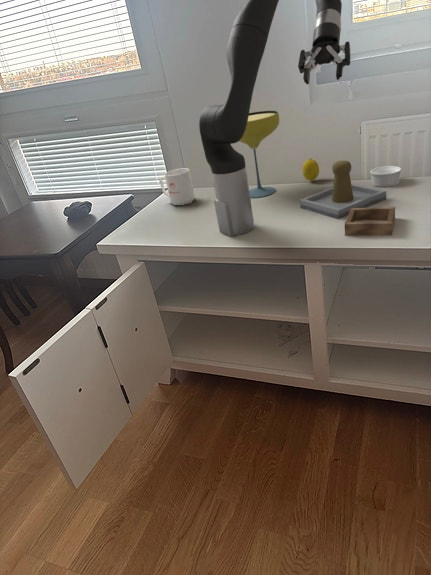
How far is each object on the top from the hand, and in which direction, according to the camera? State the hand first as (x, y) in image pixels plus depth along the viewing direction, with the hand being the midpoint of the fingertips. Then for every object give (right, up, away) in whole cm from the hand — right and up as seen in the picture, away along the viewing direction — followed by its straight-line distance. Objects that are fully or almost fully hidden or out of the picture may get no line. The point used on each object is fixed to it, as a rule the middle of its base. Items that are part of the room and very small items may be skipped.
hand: (322, 80), depth 121 cm
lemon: (+3, -22, +29) cm, 36 cm away
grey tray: (+7, -34, +5) cm, 35 cm away
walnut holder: (+9, -43, -13) cm, 46 cm away
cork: (+7, -33, +4) cm, 34 cm away
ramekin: (+23, -26, +14) cm, 37 cm away
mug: (-43, -28, +35) cm, 62 cm away
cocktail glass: (-15, -26, +28) cm, 41 cm away
